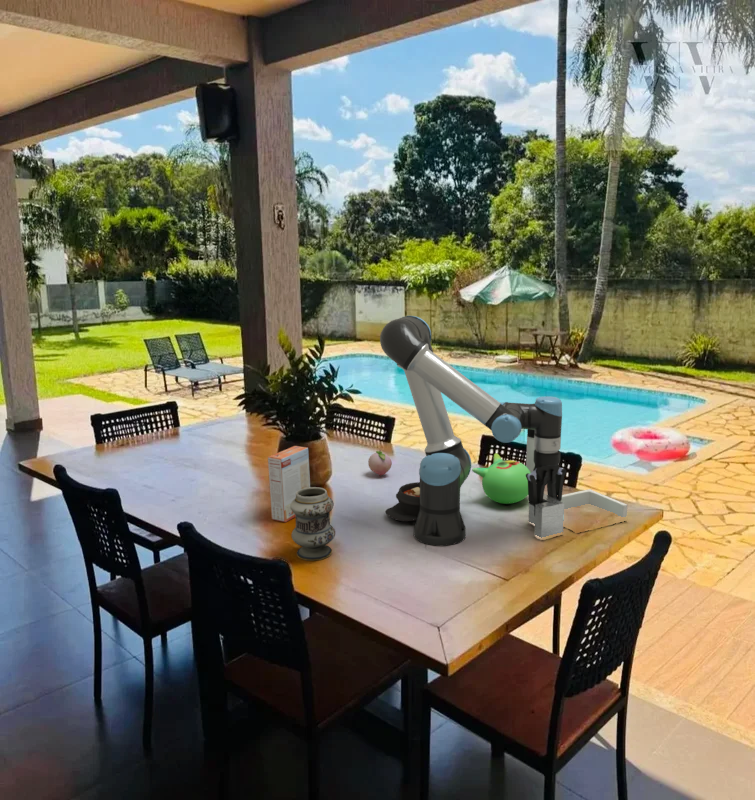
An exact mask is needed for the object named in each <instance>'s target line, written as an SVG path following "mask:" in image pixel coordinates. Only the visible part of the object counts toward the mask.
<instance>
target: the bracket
mask: <svg viewBox="0 0 755 800" xmlns="http://www.w3.org/2000/svg"><path fill="white" fill-rule="evenodd" d="M527 521H529V522H531V523H534V524H535V527H534V534H535V535H537V536H539V537H541V538H542V537H546V536H549V535H553V534H557V533H561V532H563V533H564V527H563V521H564V503H563V502H561V501H559V500H556V499H554V498H552V497H550V496H548V494H545V493H544V496H543V502H542V503H540V504H536V505H535V516H534V506H532V505H530V504H529V503H528V520H527Z"/></svg>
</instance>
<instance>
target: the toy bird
mask: <svg viewBox="0 0 755 800" xmlns="http://www.w3.org/2000/svg"><path fill="white" fill-rule="evenodd" d="M471 471H472V473H475V474H476V475H478V476H479V477H481V486H482V489H483V491H484V492H483V493H484V494H485V495H486V497H488V498H489V499H490V500H492V501H493V502H495V503H499V504H504V505H505V504H506V505H511V504H515V503H519V502H521V501H522V500H524V499H526V498H527V497H528V480H527V478H526V474H527V473H529V474H530V473H531V472H530V470H529V469H528V468H527V467H526V465H525V464H523V463H522V462H519V461H517V460H512V459H510V460H509V459H503V458H502V457H501V456H500V455H499V453H494V454H493V463H492V464H491V465H489V466H488V467H472V468H471Z"/></svg>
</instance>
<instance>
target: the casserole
mask: <svg viewBox="0 0 755 800" xmlns="http://www.w3.org/2000/svg"><path fill="white" fill-rule="evenodd" d="M395 498H396V500H398V502H397V503H396V504H395V505H393V506H391V507H388V508H387V509H386V510H385V511H384V512H385V515H386V516H387V517H389V518H391V519H392V520H395V521H400V522H416V520H417V517H418V514H419V511H420V481H417V482H409V483H406V484H404V485H403V484H402V485H401V486H399V488H398V492H397V493H396V494H395Z"/></svg>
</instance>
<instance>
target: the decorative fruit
mask: <svg viewBox="0 0 755 800" xmlns="http://www.w3.org/2000/svg"><path fill="white" fill-rule="evenodd" d="M367 464H368V467H369V469H370V471H372V472H373V473H374V474H376V475H379V476H380V475H381V476H383V475H385V474H387V473H388V472H389V471H390V469H391V468H392V464H393V462H392V459H391V457H390V456H389V455H388V454H386V453H384V452H383V451H382V450H376V451H375V453H373V454H371V455H370V456H369V458H368V463H367Z"/></svg>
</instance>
